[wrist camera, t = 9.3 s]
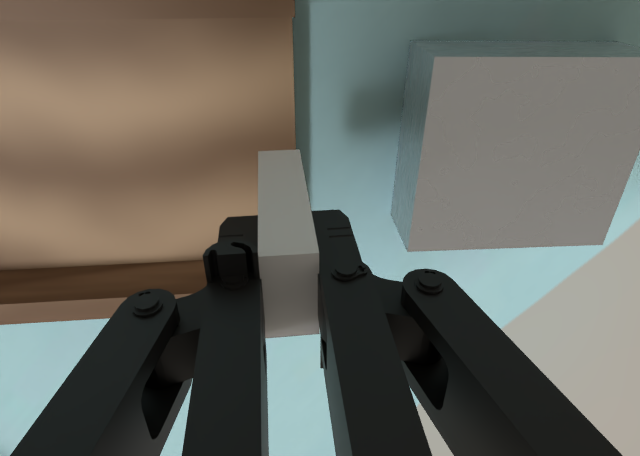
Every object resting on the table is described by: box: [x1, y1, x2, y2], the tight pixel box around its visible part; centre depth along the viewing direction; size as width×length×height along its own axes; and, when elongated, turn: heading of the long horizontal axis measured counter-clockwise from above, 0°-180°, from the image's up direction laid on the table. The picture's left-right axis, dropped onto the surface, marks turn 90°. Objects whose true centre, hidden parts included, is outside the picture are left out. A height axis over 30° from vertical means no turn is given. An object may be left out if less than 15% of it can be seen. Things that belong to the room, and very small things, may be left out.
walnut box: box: [0, 0, 296, 325], centre depth 20 cm, size 14×23×4 cm, turn 90°
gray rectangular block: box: [391, 40, 640, 252], centre depth 22 cm, size 9×10×4 cm
